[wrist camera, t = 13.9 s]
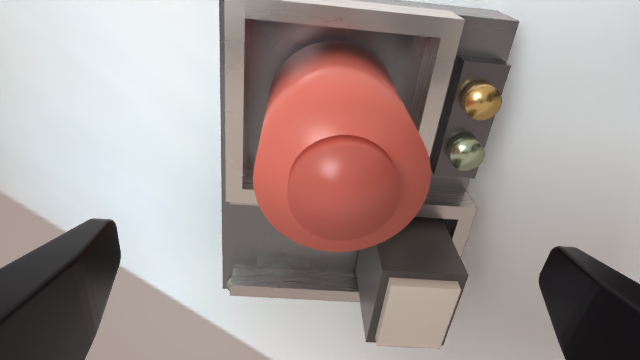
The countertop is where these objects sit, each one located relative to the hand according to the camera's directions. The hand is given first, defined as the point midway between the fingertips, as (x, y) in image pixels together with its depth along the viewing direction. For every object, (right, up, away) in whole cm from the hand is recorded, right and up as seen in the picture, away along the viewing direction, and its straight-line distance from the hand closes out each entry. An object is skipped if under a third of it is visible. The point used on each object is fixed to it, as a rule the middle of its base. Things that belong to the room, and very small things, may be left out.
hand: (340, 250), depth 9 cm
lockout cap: (0, +4, +7) cm, 8 cm away
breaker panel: (+1, +3, +10) cm, 11 cm away
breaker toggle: (+3, -1, +10) cm, 11 cm away
